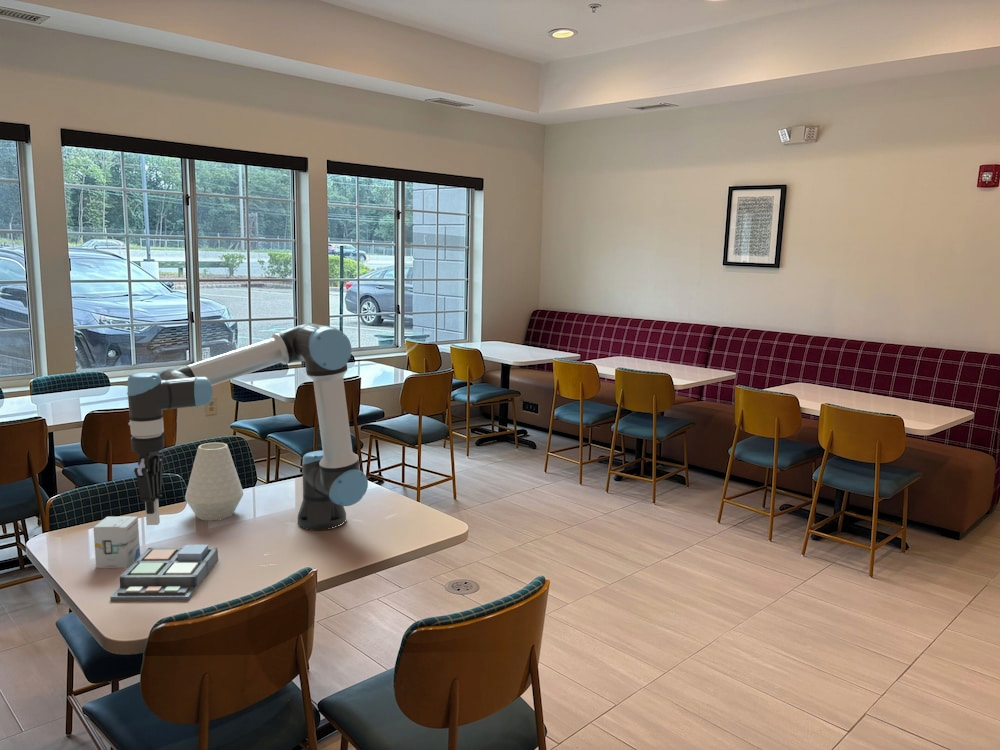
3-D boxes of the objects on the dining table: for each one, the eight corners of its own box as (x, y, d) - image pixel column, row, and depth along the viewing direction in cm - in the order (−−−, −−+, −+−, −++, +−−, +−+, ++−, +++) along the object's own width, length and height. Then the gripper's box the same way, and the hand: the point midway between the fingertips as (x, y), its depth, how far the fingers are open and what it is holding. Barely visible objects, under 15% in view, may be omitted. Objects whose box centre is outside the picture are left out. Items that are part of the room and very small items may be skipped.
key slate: (208, 553, 199) (208, 544, 198) (201, 562, 193) (201, 553, 192) (185, 553, 198) (185, 544, 198) (178, 562, 192) (177, 553, 192)
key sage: (164, 571, 190) (164, 562, 189) (155, 582, 184) (155, 572, 183) (140, 571, 189) (140, 562, 189) (131, 582, 183) (130, 572, 183)
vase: (209, 503, 245) (207, 436, 242) (254, 509, 241) (253, 442, 237) (173, 520, 229) (170, 449, 225) (221, 527, 224) (219, 455, 221)
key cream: (198, 571, 191) (197, 562, 190) (190, 581, 185) (190, 572, 184) (174, 571, 190) (174, 562, 190) (166, 582, 184) (165, 572, 184)
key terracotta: (176, 558, 198) (175, 549, 198) (168, 567, 192) (167, 558, 192) (153, 558, 198) (153, 549, 197) (144, 567, 192) (144, 558, 191)
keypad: (218, 559, 201) (217, 547, 201) (188, 600, 178) (188, 586, 177) (149, 559, 200) (148, 547, 199) (110, 601, 176) (109, 587, 176)
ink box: (109, 555, 202) (106, 515, 200) (141, 555, 203) (138, 515, 201) (95, 568, 194) (92, 526, 192) (128, 568, 194) (125, 527, 192)
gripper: (142, 428, 188) (148, 514, 192) (120, 441, 175) (127, 534, 179) (172, 428, 189) (177, 514, 193) (152, 441, 176) (158, 533, 180)
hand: (153, 523), depth 186 cm, fingers closed
